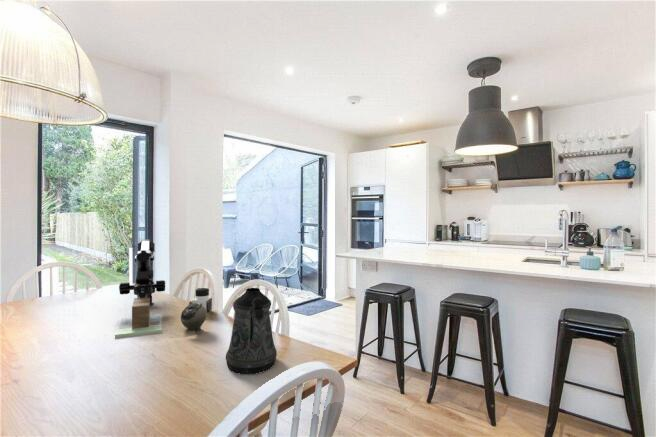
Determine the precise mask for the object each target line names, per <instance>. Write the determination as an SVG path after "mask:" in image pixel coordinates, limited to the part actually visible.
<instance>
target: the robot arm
mask: <svg viewBox="0 0 656 437" xmlns="http://www.w3.org/2000/svg"><path fill="white" fill-rule="evenodd" d="M154 253H155V243H154V242H153V241H152V240H151V239H140V241H139V242H138V243H137V253H136V254H135V256H134V262H135V263H136V268H137V269H136V277H135V283H134V284H131V285H130V282H121V283H120V284H119V286H118V288H119V289H118V290H119V294H120V295H129V294H130V293H131V291H133V295H136V298H145V297H150V306H152V305H154V304H155V302H153V294H154V293H156V292H158V293H159V292H166V280H164V279H163V280H160V279H159V280H156V281H154V280H153V278H154V269H151V264H152V262H153V261H154V260H155V256H154Z"/></svg>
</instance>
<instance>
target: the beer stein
mask: <svg viewBox="0 0 656 437" xmlns="http://www.w3.org/2000/svg"><path fill="white" fill-rule="evenodd" d="M232 308H233V310H234V316H233V317H234V318H233V323H232V330H231V336H230V342H229V346H228V349H227V351H226V354H225V361H226V366H228V367H227V368H228V370H229V371H230V370H231V371H230V372H232V371H233V372H232V373H234V372H235V374H238V373H240V374H239V375H243V374H247V375H257V374H256V373H258V374H260V373H259V372H262V373H264V372H263V371H265V372H267V371H269V370H271V369H272V368H273V367H274V366H275V363H276V359H277V355H278V354H277V352H278V351H277V348H276V345H275V341H274V337H273V331H272V323H271V315H270V309H271V308H272V301H271V300H270V298H269V297H267V296H266V295H265V294H264V293H263V292H261V290H260V288H259V287H248V288H246V289H245V292H244V293H242V295H240V296H239V297H237V298H236V299H235V300H234V301H233V302H232ZM273 365H274V366H273ZM272 366H273V367H272ZM271 367H272V368H271ZM270 368H271V369H270ZM268 369H269V370H268ZM266 370H267V371H266Z"/></svg>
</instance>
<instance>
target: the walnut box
mask: <svg viewBox="0 0 656 437" xmlns="http://www.w3.org/2000/svg"><path fill="white" fill-rule="evenodd" d="M150 306H151V305H150V297H145V298H137V297H135V298H134V299H133V303H132V305H131V317H132V324H131V325H132V329H135V328H144V327H149V318H150V315H151V314H150V311H151V309H150V308H151V307H150Z"/></svg>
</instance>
